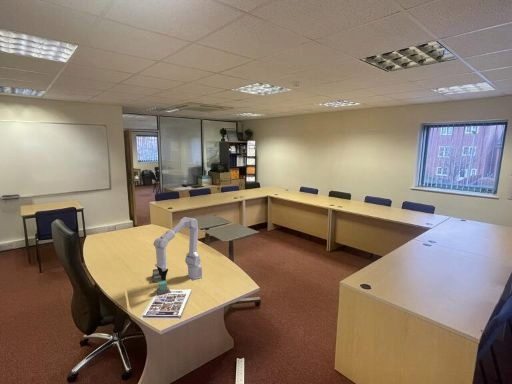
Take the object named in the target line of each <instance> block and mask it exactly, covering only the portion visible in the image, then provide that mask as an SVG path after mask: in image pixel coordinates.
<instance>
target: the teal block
mask: <svg viewBox="0 0 512 384" xmlns="http://www.w3.org/2000/svg"><path fill="white" fill-rule="evenodd" d="M158 287H159V289H160V291H161V290H165V289H167V287H168V285H167V280H166V281H161V282H158Z"/></svg>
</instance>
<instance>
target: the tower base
mask: <svg viewBox="0 0 512 384" xmlns="http://www.w3.org/2000/svg"><path fill="white" fill-rule="evenodd" d="M167 287H168V289H169V292H167V293H164V294H160V295H159V294H158V292H157V289H155V293H156V295H157V296H158V297H159V296H163V295H167V294H171V293H172V292H171V290H170V287H169V286H167Z"/></svg>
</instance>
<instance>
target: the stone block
mask: <svg viewBox="0 0 512 384" xmlns="http://www.w3.org/2000/svg"><path fill="white" fill-rule="evenodd" d="M151 277H152V283H154V284H155V283H159V282H161V281H162V279H161V276H160V275H159V272H158V268H154V269H152V276H151ZM163 281H166V282H167V279H166V280H163Z"/></svg>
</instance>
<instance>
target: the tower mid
mask: <svg viewBox="0 0 512 384" xmlns="http://www.w3.org/2000/svg"><path fill="white" fill-rule="evenodd" d="M168 287H169V286H167V289H165V290H161V291H160V289H159V286H158V287H156V290H157V292H158V294H159V295H160V294H164V293H167V292H169V289H170V288H169V289H168ZM164 295H165V294H164ZM160 296H161V295H160Z"/></svg>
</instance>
